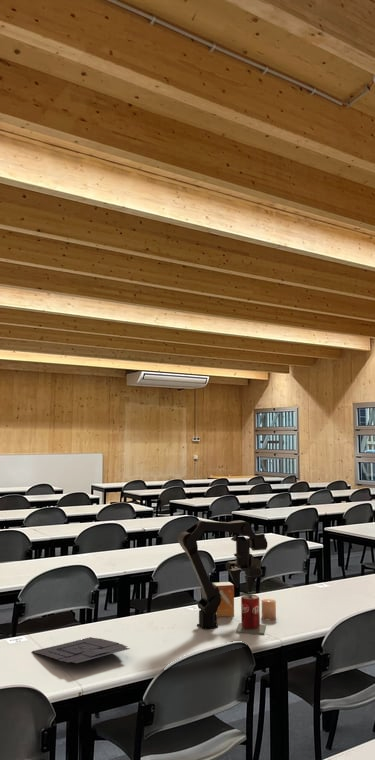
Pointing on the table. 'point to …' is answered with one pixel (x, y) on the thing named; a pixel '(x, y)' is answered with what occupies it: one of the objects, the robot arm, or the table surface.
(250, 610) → the soda can
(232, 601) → the small box
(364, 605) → the table surface
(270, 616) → the orange-brown round cylinder
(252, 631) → the coaster
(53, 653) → the dark grey flat square
